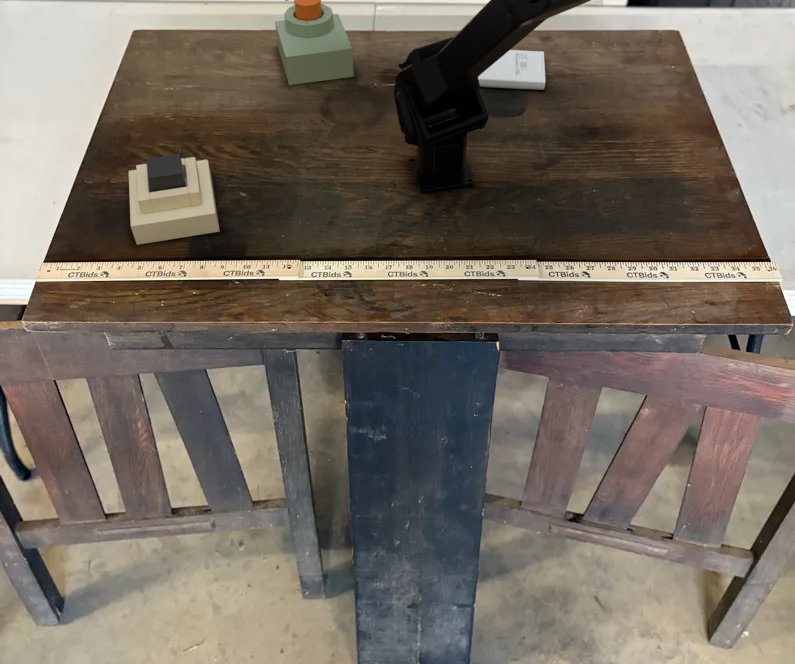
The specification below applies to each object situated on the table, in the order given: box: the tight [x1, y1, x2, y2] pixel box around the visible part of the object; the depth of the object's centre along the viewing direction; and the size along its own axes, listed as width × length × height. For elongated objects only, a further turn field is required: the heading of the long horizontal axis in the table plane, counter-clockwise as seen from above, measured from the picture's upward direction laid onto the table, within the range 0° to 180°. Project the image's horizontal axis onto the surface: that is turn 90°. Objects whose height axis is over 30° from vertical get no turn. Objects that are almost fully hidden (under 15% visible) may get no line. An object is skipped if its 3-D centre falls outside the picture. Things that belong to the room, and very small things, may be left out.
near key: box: [146, 153, 185, 192], centre depth 87 cm, size 4×4×2 cm
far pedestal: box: [274, 3, 355, 86], centre depth 110 cm, size 11×9×6 cm
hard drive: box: [478, 49, 546, 91], centre depth 110 cm, size 2×8×12 cm
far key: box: [293, 0, 322, 21], centre depth 109 cm, size 4×4×2 cm
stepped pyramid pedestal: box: [128, 156, 221, 246], centre depth 89 cm, size 10×9×4 cm
